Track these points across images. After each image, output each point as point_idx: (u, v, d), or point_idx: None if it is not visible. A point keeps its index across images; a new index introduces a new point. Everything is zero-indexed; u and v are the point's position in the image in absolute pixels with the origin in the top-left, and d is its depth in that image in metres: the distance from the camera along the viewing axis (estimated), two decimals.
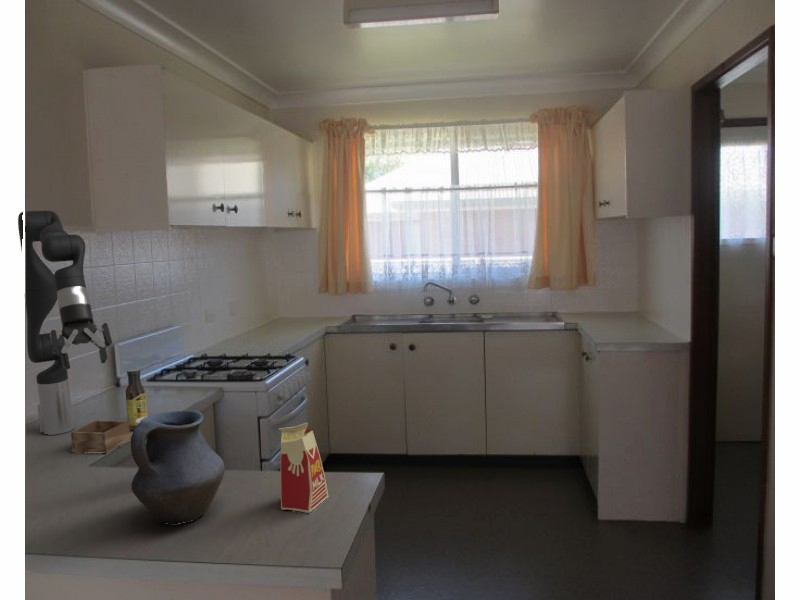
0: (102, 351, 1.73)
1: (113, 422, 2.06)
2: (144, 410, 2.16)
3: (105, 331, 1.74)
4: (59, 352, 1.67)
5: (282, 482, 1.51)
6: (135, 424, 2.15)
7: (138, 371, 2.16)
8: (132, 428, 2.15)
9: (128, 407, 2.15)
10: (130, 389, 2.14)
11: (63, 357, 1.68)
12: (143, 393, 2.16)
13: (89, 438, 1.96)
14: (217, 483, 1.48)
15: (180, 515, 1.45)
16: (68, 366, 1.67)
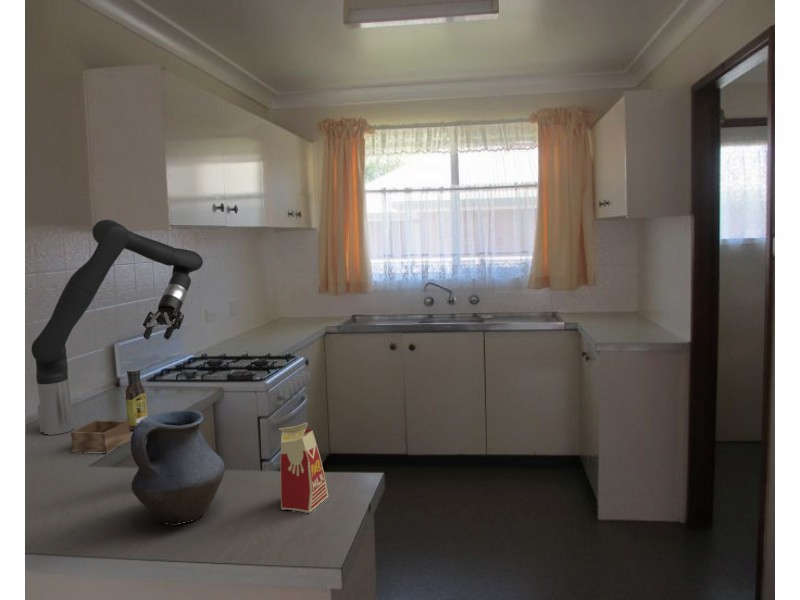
0: None
1: (113, 422, 2.06)
2: (144, 410, 2.16)
3: None
4: None
5: (282, 482, 1.51)
6: (135, 424, 2.15)
7: (138, 371, 2.16)
8: (132, 428, 2.15)
9: (128, 407, 2.15)
10: (130, 389, 2.14)
11: None
12: (143, 393, 2.16)
13: (89, 438, 1.96)
14: (217, 483, 1.48)
15: (180, 515, 1.45)
16: None
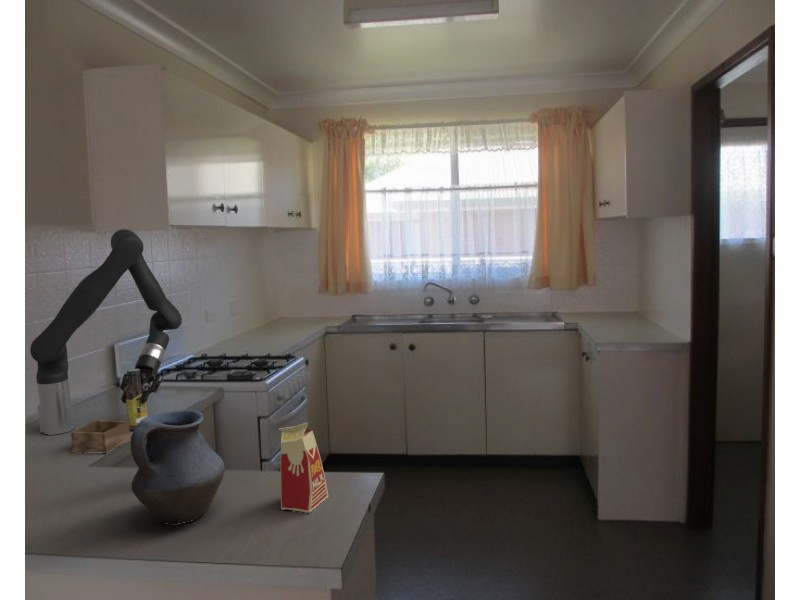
0: None
1: (113, 422, 2.06)
2: (143, 410, 2.16)
3: None
4: None
5: (282, 482, 1.51)
6: (135, 424, 2.15)
7: (138, 371, 2.16)
8: (132, 428, 2.15)
9: (128, 407, 2.15)
10: (130, 389, 2.14)
11: None
12: None
13: (89, 438, 1.96)
14: (217, 483, 1.48)
15: (180, 515, 1.45)
16: None
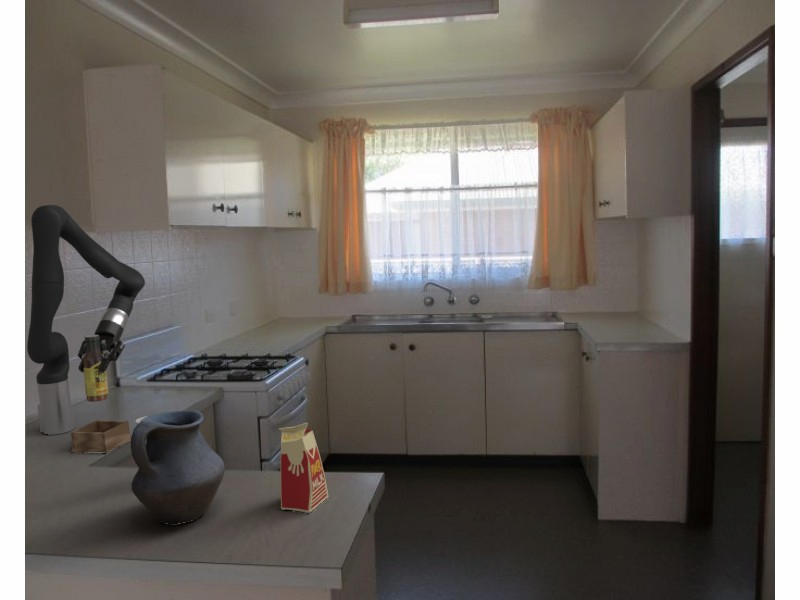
0: None
1: (113, 422, 2.06)
2: (103, 380, 1.99)
3: None
4: None
5: (282, 482, 1.51)
6: (93, 395, 1.97)
7: (97, 337, 1.98)
8: (90, 399, 1.97)
9: (86, 376, 1.97)
10: (88, 356, 1.97)
11: None
12: None
13: (89, 438, 1.96)
14: (217, 483, 1.48)
15: (180, 515, 1.45)
16: None
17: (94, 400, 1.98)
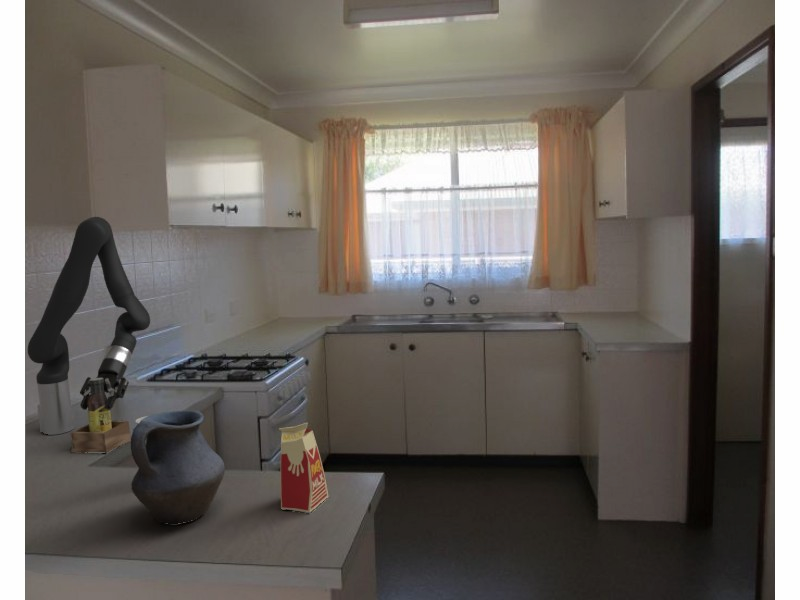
0: None
1: (113, 422, 2.06)
2: (107, 422, 2.00)
3: None
4: None
5: (282, 482, 1.51)
6: None
7: (101, 380, 2.00)
8: None
9: (90, 419, 1.99)
10: (92, 399, 1.98)
11: None
12: None
13: (89, 438, 1.96)
14: (217, 483, 1.48)
15: (180, 515, 1.45)
16: None
17: None
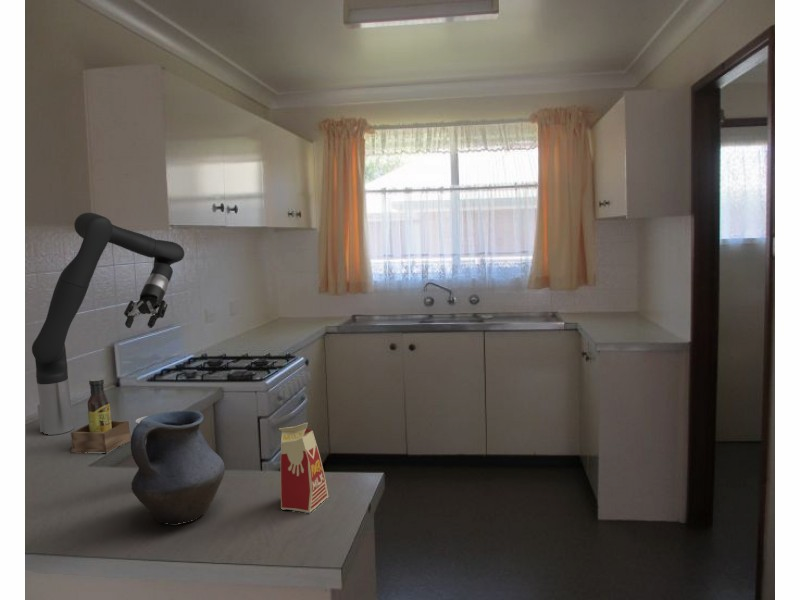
0: None
1: (113, 422, 2.06)
2: (107, 423, 2.00)
3: None
4: None
5: (282, 482, 1.51)
6: None
7: (101, 381, 2.00)
8: None
9: (90, 420, 1.99)
10: (92, 400, 1.98)
11: None
12: (107, 404, 2.00)
13: (89, 438, 1.96)
14: (217, 483, 1.48)
15: (180, 515, 1.45)
16: None
17: None
